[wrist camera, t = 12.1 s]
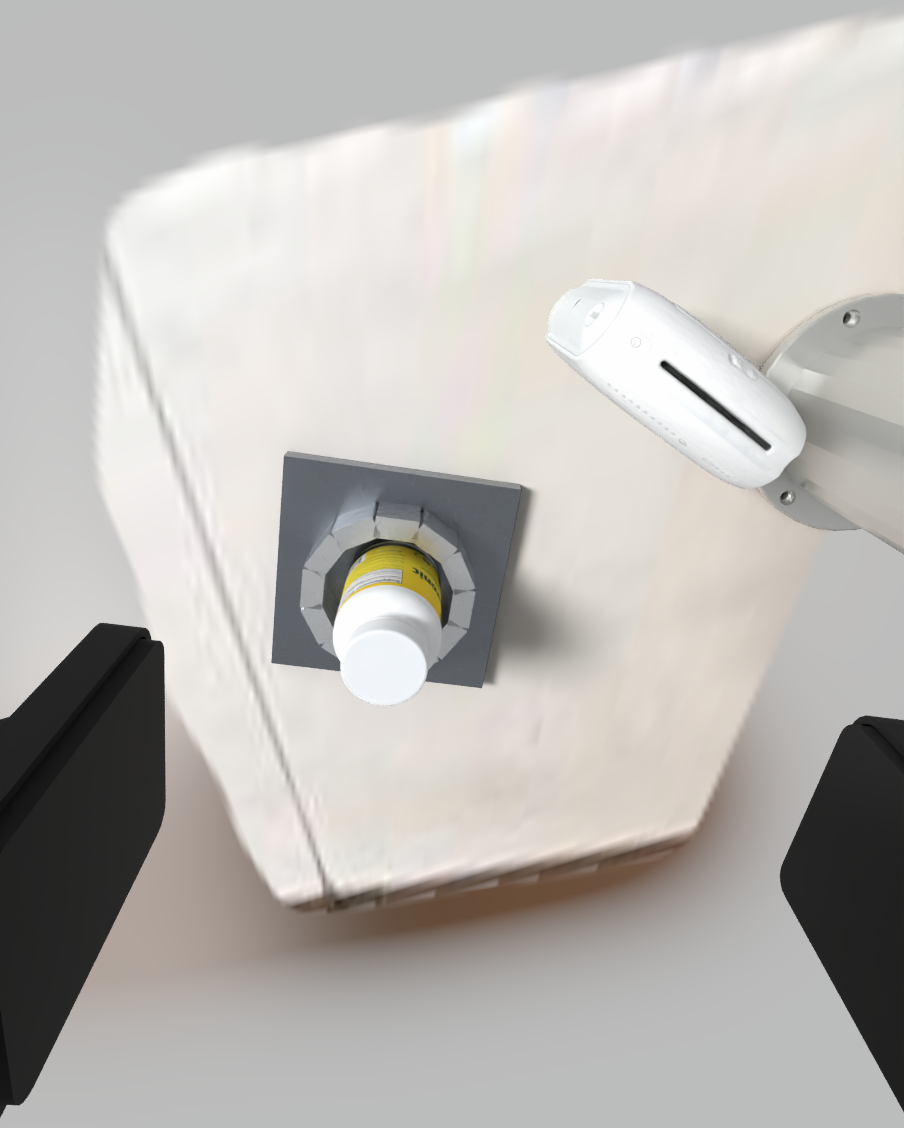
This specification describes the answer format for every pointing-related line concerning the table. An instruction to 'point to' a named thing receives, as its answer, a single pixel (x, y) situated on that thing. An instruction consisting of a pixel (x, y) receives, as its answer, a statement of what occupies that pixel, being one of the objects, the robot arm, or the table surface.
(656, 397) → the photo printer
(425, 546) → the ring collar block
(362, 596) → the supplement bottle
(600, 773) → the table surface
